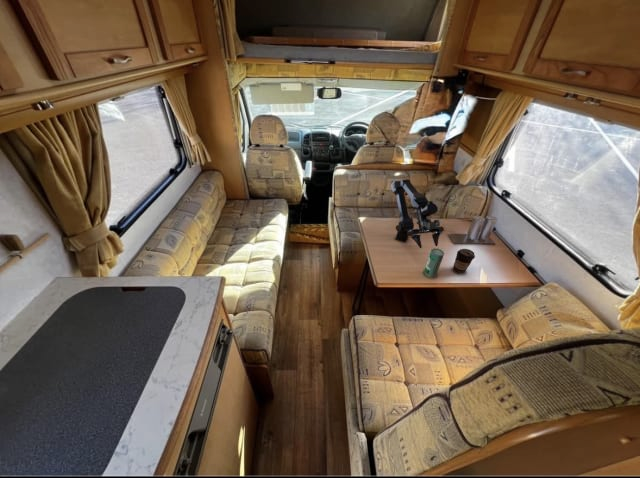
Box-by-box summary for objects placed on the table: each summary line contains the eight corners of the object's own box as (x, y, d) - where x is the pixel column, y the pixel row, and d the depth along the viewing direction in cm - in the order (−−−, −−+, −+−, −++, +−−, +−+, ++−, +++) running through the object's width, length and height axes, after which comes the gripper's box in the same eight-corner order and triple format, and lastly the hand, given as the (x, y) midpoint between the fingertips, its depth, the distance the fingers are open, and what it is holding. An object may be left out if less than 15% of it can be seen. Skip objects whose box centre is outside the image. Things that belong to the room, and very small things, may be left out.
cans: (468, 240, 163) (476, 220, 155) (463, 235, 168) (472, 215, 160) (489, 241, 163) (499, 220, 155) (484, 235, 168) (494, 215, 159)
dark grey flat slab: (454, 244, 162) (455, 242, 162) (448, 235, 171) (448, 233, 170) (494, 244, 162) (495, 243, 162) (486, 235, 170) (487, 234, 170)
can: (426, 268, 143) (433, 247, 134) (437, 273, 140) (445, 251, 132) (422, 274, 139) (429, 252, 130) (434, 279, 136) (442, 257, 127)
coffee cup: (466, 278, 137) (474, 259, 130) (449, 272, 141) (456, 253, 133) (468, 269, 143) (476, 250, 136) (452, 263, 147) (459, 245, 139)
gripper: (414, 216, 131) (420, 246, 129) (447, 213, 134) (454, 242, 132) (404, 221, 142) (409, 249, 140) (435, 218, 145) (441, 246, 143)
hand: (428, 247), depth 138 cm, fingers open, 9 cm apart
